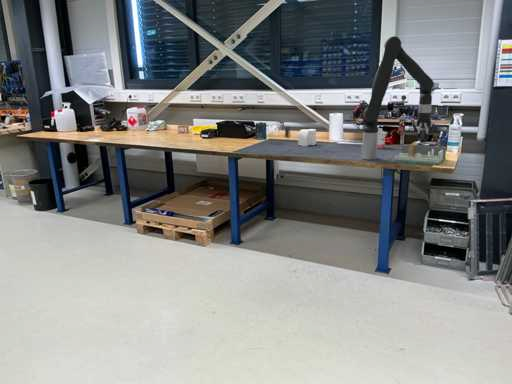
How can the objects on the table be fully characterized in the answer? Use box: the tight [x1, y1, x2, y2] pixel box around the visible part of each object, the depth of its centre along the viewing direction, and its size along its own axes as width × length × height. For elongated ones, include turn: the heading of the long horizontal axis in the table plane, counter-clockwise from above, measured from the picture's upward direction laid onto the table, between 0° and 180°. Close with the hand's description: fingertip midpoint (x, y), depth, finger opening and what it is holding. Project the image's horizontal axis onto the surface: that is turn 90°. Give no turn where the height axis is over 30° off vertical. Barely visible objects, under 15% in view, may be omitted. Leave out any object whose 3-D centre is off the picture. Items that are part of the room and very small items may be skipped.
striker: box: [408, 129, 437, 157], centre depth 252 cm, size 13×15×16 cm
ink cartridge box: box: [377, 127, 386, 149], centre depth 300 cm, size 9×5×15 cm, turn 47°
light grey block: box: [297, 128, 317, 147], centre depth 323 cm, size 11×11×12 cm
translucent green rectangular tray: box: [393, 144, 447, 166], centre depth 253 cm, size 26×19×8 cm
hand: (422, 139), depth 257 cm, fingers closed on striker, 3 cm apart
